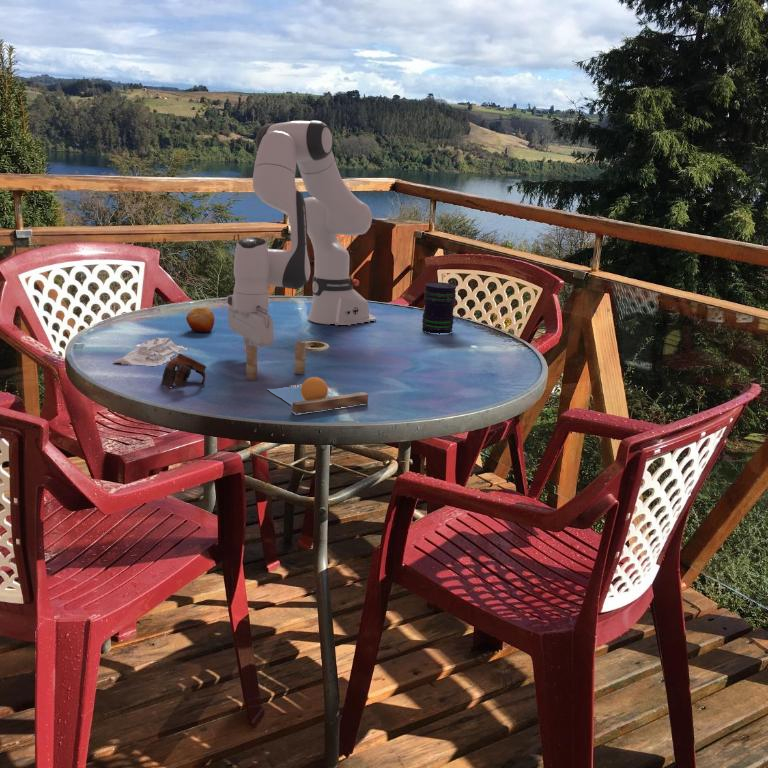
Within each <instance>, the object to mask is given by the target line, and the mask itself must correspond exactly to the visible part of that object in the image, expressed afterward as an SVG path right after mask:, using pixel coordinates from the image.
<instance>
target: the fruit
mask: <svg viewBox="0 0 768 768" xmlns="http://www.w3.org/2000/svg"><path fill="white" fill-rule="evenodd" d="M185 319H186V323H187V325H188V326H189V328H190V330H191V331H192V332H193V331H194V333H209V332H211V331H212V330H213V328H214V325H215V316H214V312H213V311H211V309H210V308H208V307H195V308H193V309H191V310H190V311H189V312H188V314H187V315H186V318H185Z"/></svg>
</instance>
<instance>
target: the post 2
mask: <svg viewBox="0 0 768 768" xmlns="http://www.w3.org/2000/svg"><path fill="white" fill-rule="evenodd" d="M306 344H307V342H306V341H304V340H303V341H302V340H298V341H295V342H294V372H293V373H294V375H297V374H303V375H305V374H304V373H306V352H307V351H306V349H307V348H306Z"/></svg>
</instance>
